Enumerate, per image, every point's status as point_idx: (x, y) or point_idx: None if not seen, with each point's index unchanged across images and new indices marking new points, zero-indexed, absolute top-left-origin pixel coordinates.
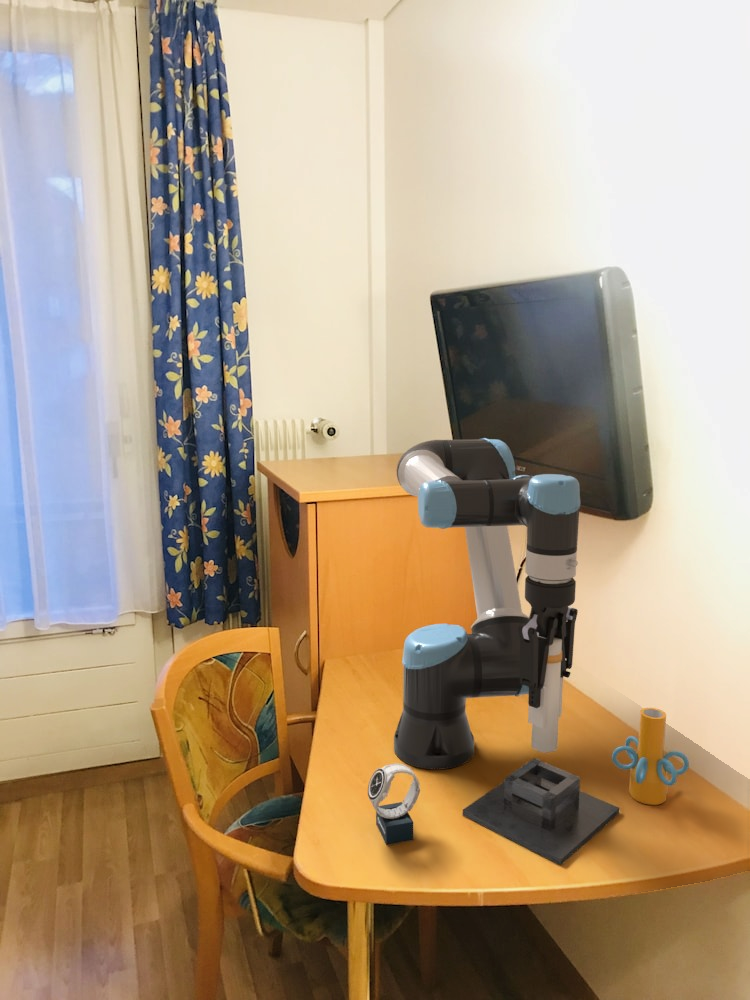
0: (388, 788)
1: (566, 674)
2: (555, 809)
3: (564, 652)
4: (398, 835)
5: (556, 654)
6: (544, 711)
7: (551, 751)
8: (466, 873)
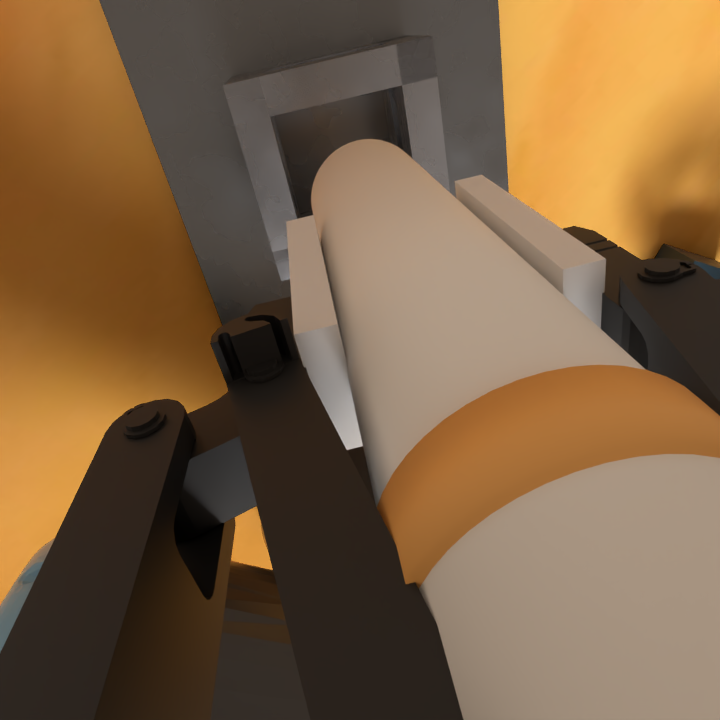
0: None
1: (268, 336)
2: (389, 42)
3: (278, 538)
4: (704, 259)
5: (687, 462)
6: (507, 202)
7: (382, 141)
8: (689, 57)
